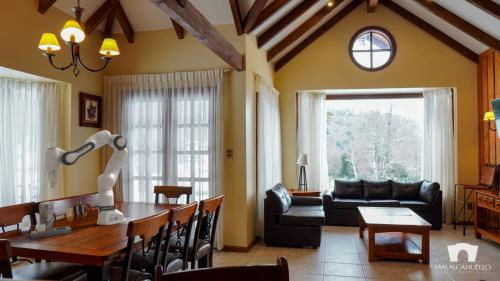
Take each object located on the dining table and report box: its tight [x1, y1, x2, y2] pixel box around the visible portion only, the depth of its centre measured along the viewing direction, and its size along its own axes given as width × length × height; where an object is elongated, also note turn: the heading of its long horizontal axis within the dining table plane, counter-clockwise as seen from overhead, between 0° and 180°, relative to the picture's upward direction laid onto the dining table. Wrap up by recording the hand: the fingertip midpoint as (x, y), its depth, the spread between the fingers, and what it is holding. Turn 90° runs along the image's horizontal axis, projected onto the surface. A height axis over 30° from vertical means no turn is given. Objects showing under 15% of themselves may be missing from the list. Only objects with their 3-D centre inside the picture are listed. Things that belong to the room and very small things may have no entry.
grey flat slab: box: [30, 225, 72, 239], centre depth 247 cm, size 24×10×3 cm, turn 125°
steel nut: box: [36, 223, 45, 232], centre depth 244 cm, size 4×4×8 cm
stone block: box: [38, 201, 55, 229], centre depth 263 cm, size 13×7×20 cm, turn 14°
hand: (52, 188), depth 255 cm, fingers open, 8 cm apart
